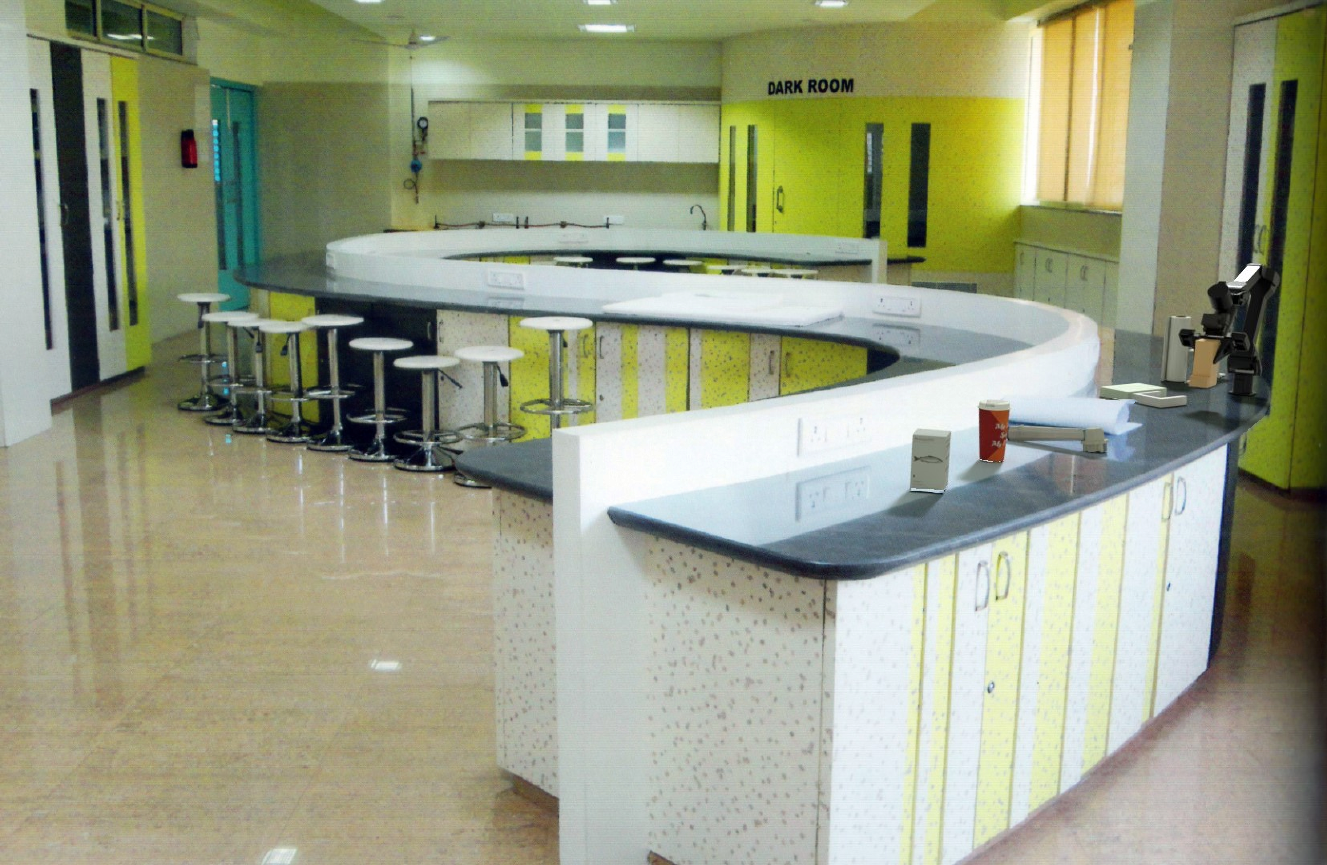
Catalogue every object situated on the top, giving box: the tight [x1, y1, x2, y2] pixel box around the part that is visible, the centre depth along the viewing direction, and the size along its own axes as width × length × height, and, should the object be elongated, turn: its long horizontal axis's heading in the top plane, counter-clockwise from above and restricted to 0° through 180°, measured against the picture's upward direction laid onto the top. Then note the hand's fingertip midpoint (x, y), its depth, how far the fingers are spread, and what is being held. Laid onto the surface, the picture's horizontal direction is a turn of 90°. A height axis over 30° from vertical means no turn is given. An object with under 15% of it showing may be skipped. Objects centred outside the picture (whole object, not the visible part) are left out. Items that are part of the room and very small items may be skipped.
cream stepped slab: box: [1099, 382, 1188, 409], centre depth 359 cm, size 16×22×3 cm
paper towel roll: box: [1160, 315, 1192, 383], centre depth 392 cm, size 7×6×21 cm
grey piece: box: [1006, 423, 1110, 453], centre depth 296 cm, size 5×7×25 cm
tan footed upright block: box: [1188, 339, 1220, 389], centre depth 343 cm, size 7×5×13 cm
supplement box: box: [909, 428, 952, 490], centre depth 254 cm, size 7×7×13 cm
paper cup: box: [977, 399, 1012, 463], centre depth 280 cm, size 8×8×14 cm
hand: (1204, 362), depth 342 cm, fingers closed on tan footed upright block, 5 cm apart
